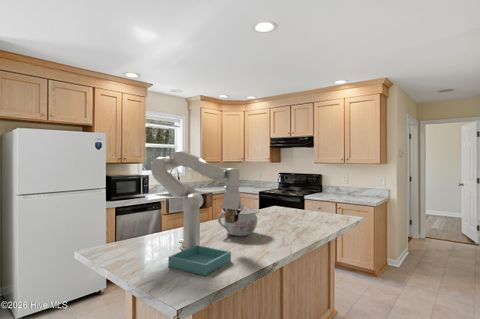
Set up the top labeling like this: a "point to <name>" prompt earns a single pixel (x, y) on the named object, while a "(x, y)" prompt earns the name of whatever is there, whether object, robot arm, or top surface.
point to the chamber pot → (241, 222)
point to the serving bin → (199, 260)
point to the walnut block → (230, 216)
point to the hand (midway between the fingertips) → (231, 220)
